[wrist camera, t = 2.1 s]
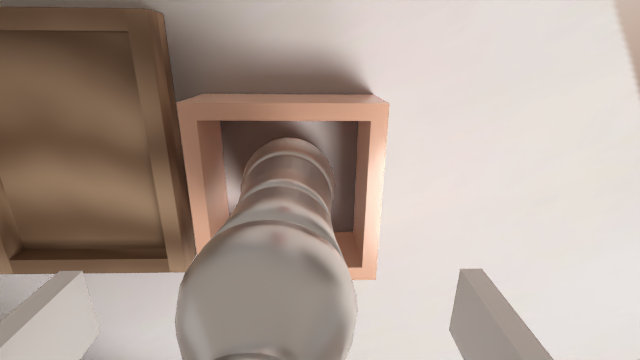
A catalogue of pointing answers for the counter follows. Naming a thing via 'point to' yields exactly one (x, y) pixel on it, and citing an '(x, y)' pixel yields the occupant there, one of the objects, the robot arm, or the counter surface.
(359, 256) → the wooden box frame
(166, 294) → the counter surface
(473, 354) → the robot arm
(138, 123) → the tray
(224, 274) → the plastic bottle
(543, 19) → the counter surface
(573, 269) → the counter surface
